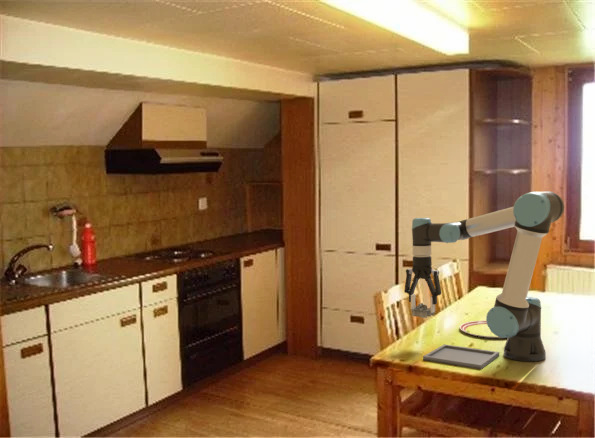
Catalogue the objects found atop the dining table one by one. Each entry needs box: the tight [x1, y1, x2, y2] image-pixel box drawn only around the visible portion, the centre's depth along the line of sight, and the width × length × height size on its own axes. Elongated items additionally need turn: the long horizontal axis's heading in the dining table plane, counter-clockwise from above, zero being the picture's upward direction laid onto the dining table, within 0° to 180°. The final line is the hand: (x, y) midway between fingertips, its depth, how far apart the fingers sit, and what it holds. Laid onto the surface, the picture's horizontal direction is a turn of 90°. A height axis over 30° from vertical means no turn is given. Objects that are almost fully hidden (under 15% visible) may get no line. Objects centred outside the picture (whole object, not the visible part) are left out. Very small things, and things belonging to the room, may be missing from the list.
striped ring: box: [459, 320, 503, 339], centre depth 274 cm, size 28×27×3 cm
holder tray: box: [422, 344, 500, 370], centre depth 238 cm, size 22×20×2 cm
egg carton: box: [409, 302, 437, 319], centre depth 255 cm, size 11×8×4 cm
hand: (423, 311), depth 254 cm, fingers closed on egg carton, 8 cm apart
